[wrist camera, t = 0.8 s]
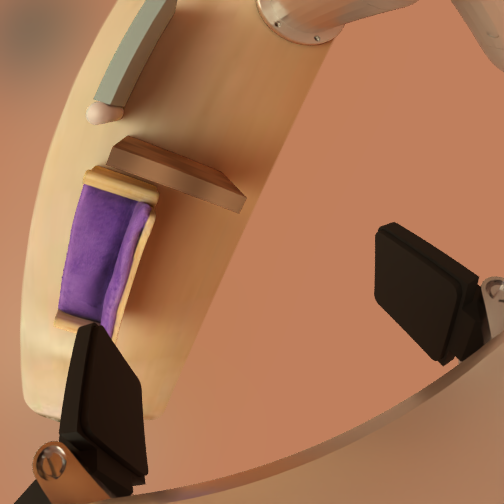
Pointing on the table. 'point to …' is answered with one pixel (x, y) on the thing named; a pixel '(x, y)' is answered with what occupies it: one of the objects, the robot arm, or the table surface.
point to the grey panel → (130, 61)
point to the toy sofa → (105, 249)
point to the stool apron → (176, 172)
